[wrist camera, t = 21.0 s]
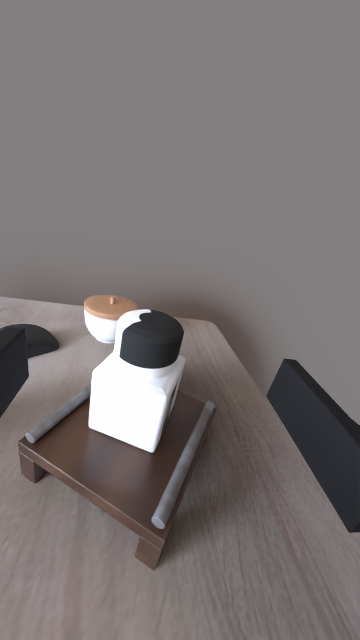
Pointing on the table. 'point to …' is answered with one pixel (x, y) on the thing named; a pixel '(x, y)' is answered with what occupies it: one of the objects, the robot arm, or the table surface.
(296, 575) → the table surface
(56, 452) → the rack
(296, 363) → the robot arm
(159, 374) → the container
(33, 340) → the computer mouse
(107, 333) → the trinket box
